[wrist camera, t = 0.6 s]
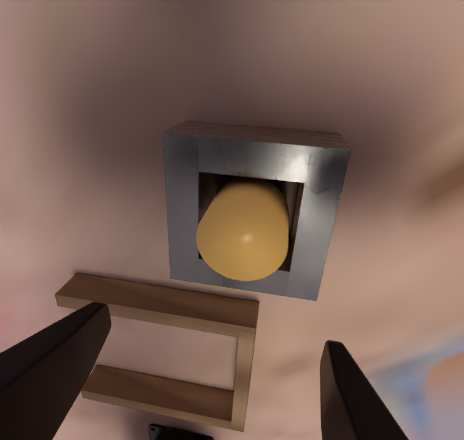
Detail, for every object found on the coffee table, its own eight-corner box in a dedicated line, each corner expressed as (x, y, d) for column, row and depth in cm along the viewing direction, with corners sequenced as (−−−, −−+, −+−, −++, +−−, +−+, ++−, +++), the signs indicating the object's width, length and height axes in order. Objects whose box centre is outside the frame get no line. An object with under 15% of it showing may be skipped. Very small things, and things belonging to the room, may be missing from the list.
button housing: (312, 266, 19) (316, 300, 16) (187, 248, 20) (170, 278, 17) (340, 134, 15) (350, 150, 13) (185, 121, 17) (162, 133, 14)
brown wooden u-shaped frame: (247, 402, 26) (243, 432, 24) (98, 372, 28) (82, 397, 26) (259, 301, 21) (255, 328, 19) (76, 273, 23) (54, 294, 21)
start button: (283, 251, 17) (281, 287, 14) (211, 241, 17) (196, 274, 15) (294, 181, 15) (294, 206, 12) (212, 172, 15) (196, 195, 13)
